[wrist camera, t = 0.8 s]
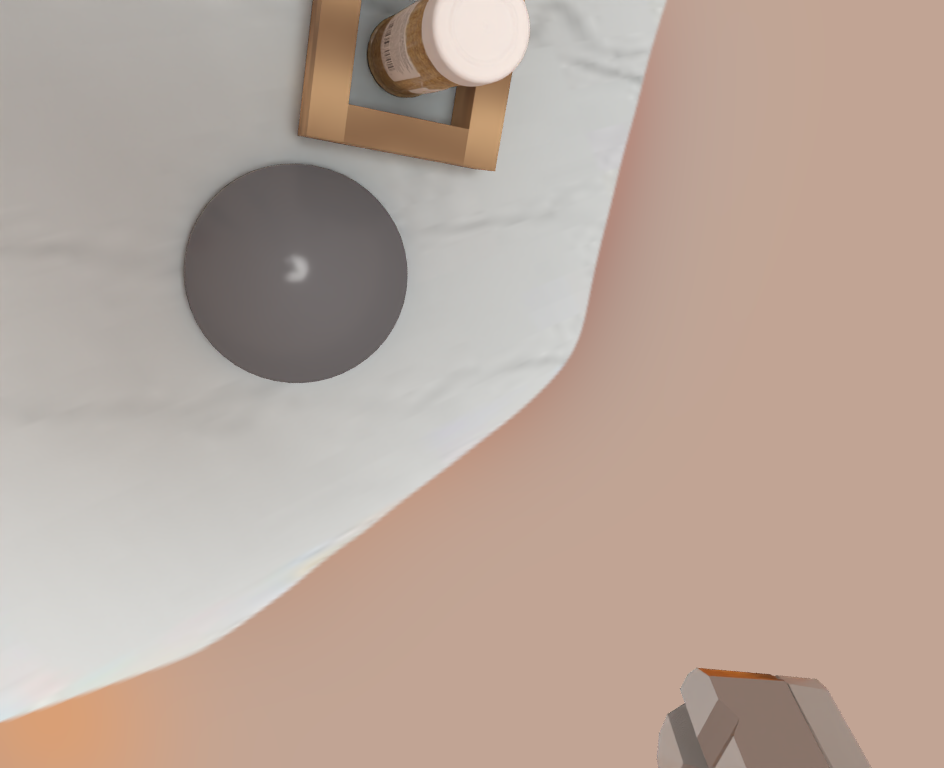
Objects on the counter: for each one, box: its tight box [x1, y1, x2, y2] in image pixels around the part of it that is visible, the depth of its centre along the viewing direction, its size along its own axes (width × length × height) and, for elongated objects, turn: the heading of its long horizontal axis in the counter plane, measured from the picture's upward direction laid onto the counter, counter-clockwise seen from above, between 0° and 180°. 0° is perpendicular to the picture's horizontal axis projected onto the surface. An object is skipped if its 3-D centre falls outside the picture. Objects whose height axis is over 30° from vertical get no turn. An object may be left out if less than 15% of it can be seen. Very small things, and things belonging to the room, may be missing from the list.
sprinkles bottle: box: [368, 0, 530, 97], centre depth 39 cm, size 5×5×14 cm
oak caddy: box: [298, 0, 525, 171], centre depth 43 cm, size 11×11×4 cm
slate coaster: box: [185, 164, 407, 383], centre depth 46 cm, size 13×13×1 cm
